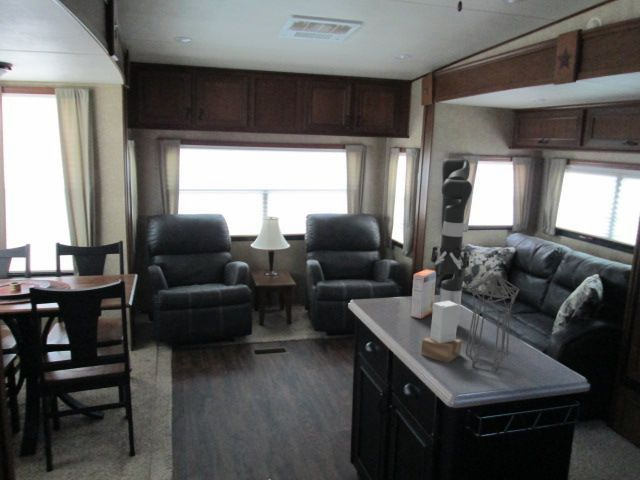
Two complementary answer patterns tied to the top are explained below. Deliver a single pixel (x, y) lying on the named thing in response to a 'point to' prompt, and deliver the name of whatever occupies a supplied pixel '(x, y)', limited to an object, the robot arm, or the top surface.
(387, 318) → the top surface
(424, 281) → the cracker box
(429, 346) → the light brown block
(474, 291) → the geometric lantern
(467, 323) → the top surface
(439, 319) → the skincare box
